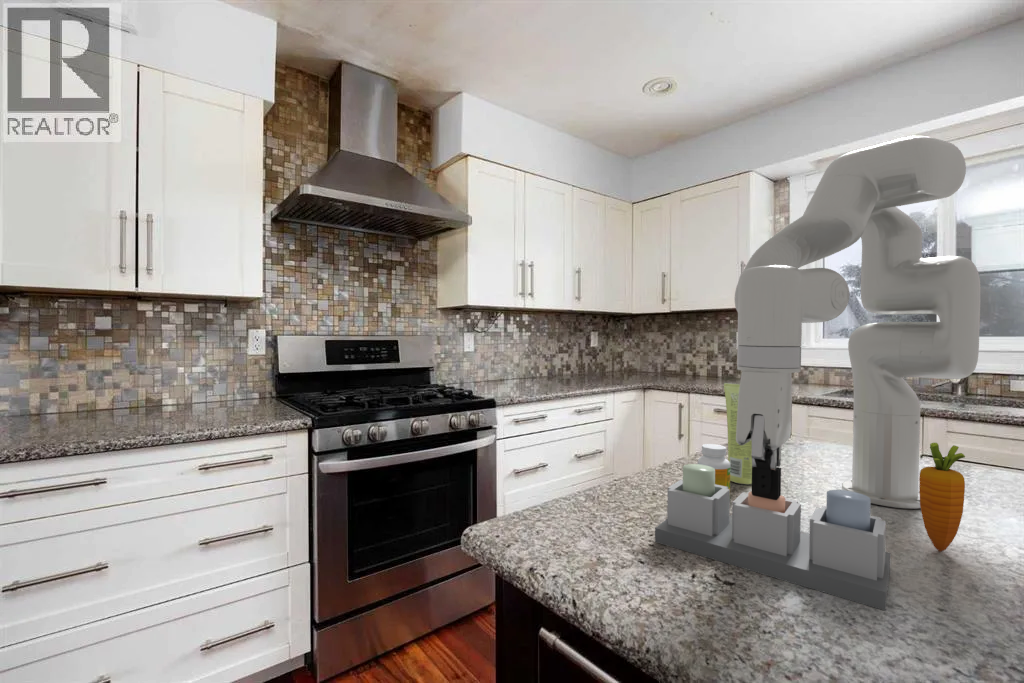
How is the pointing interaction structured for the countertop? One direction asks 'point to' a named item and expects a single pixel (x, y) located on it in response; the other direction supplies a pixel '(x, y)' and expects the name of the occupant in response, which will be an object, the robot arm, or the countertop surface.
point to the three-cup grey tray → (780, 543)
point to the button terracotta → (767, 503)
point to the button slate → (848, 509)
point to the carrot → (942, 497)
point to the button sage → (699, 479)
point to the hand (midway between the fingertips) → (765, 496)
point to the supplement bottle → (716, 463)
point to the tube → (736, 453)
